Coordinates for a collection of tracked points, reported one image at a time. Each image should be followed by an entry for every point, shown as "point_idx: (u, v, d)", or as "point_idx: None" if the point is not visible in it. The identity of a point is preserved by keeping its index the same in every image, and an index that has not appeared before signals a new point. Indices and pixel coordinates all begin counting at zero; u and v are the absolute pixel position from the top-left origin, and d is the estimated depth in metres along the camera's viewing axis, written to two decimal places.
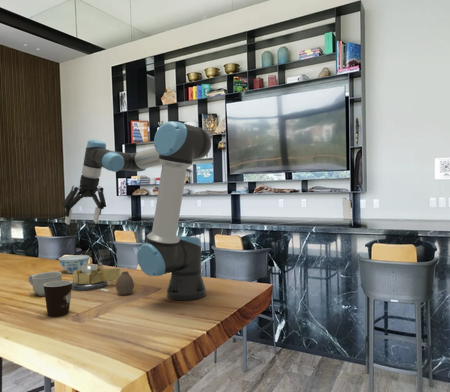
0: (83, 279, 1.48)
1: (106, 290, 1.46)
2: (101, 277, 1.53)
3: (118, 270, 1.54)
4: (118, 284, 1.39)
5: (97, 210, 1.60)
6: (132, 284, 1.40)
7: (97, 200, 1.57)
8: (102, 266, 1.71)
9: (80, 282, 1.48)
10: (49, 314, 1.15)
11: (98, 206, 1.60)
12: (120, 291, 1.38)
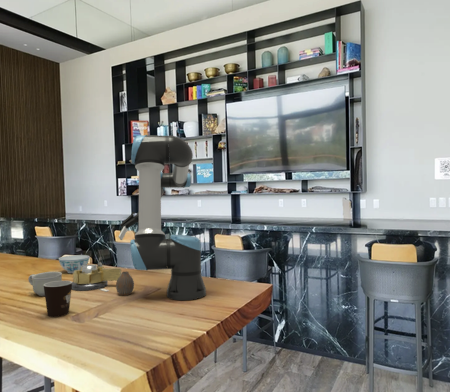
0: (83, 279, 1.48)
1: (106, 290, 1.46)
2: (101, 277, 1.53)
3: (118, 270, 1.54)
4: (118, 284, 1.39)
5: None
6: (132, 284, 1.40)
7: None
8: (102, 266, 1.71)
9: (80, 282, 1.48)
10: (49, 314, 1.15)
11: None
12: (120, 291, 1.38)
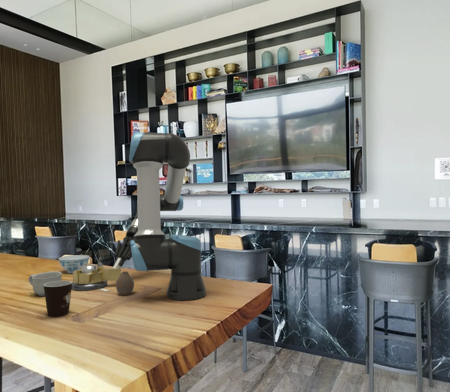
0: (83, 279, 1.48)
1: (106, 290, 1.46)
2: (101, 277, 1.53)
3: (118, 270, 1.54)
4: (118, 284, 1.39)
5: None
6: (132, 284, 1.40)
7: (126, 249, 1.64)
8: (102, 266, 1.70)
9: (80, 282, 1.48)
10: (49, 314, 1.15)
11: None
12: (120, 291, 1.38)
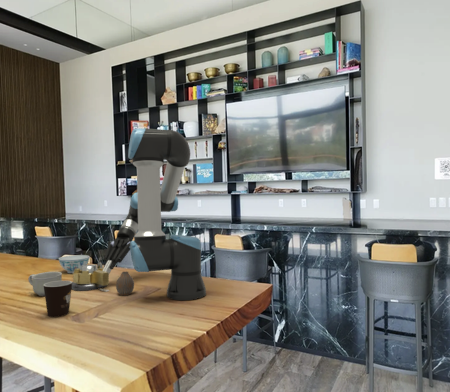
0: (75, 278, 1.50)
1: (106, 290, 1.46)
2: (91, 279, 1.49)
3: (102, 274, 1.45)
4: (118, 284, 1.39)
5: None
6: (132, 284, 1.40)
7: (117, 251, 1.58)
8: (102, 266, 1.70)
9: (74, 281, 1.51)
10: (49, 314, 1.15)
11: None
12: (120, 291, 1.38)
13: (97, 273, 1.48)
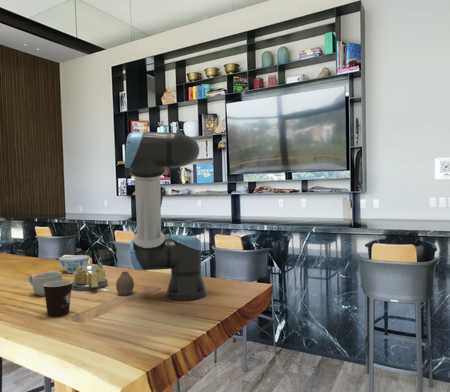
0: (74, 277, 1.52)
1: (106, 290, 1.46)
2: (86, 279, 1.48)
3: (91, 276, 1.43)
4: (118, 284, 1.39)
5: None
6: (132, 284, 1.40)
7: None
8: (102, 267, 1.70)
9: None
10: (49, 314, 1.15)
11: None
12: (120, 291, 1.38)
13: (89, 274, 1.46)
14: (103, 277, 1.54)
